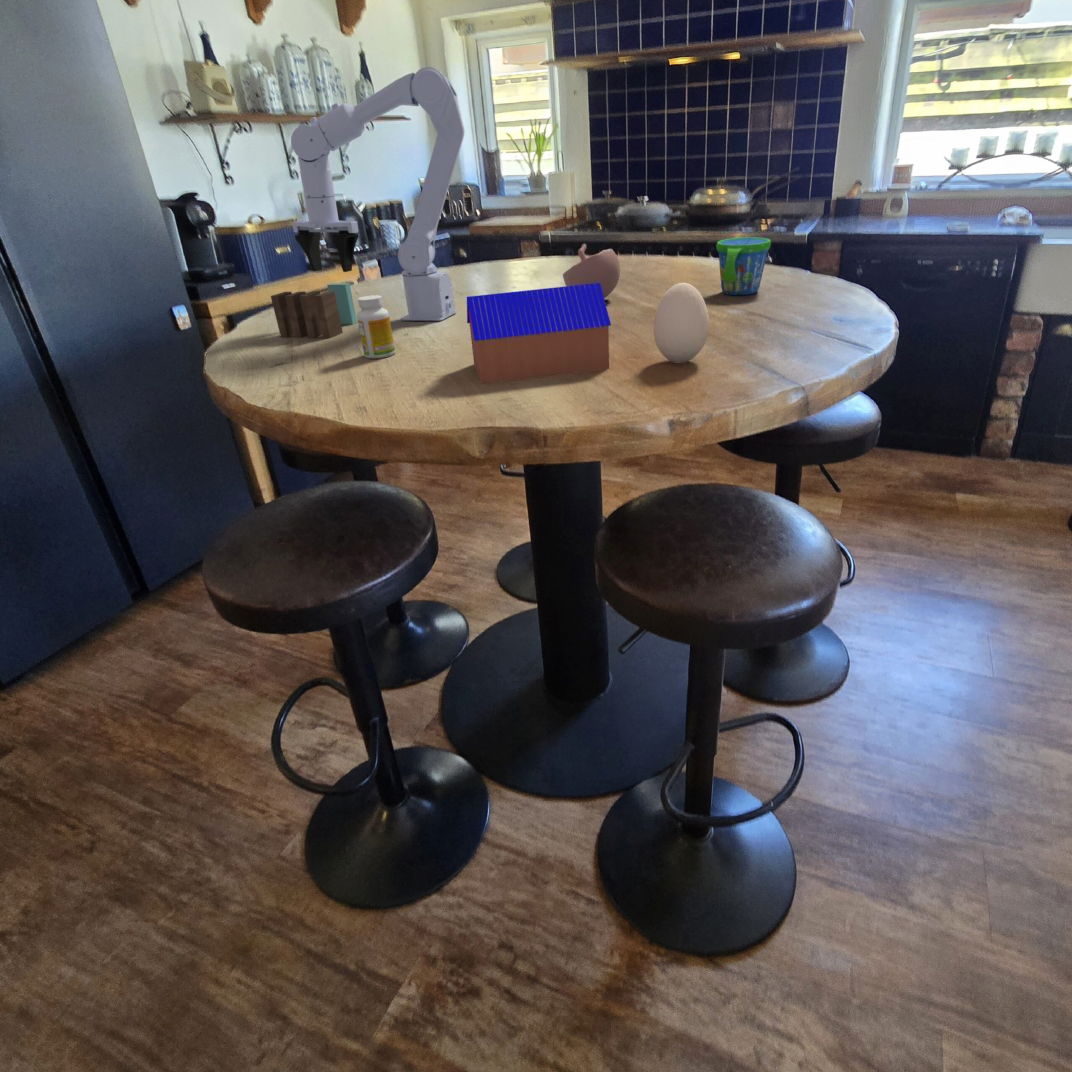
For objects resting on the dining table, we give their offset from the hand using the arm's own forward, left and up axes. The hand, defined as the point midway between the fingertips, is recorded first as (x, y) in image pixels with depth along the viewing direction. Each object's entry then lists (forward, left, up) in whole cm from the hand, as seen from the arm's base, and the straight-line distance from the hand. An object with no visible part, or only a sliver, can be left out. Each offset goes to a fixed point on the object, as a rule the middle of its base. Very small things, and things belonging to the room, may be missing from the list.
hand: (332, 270), depth 141 cm
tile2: (-4, +10, -11) cm, 15 cm away
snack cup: (-79, -30, -11) cm, 85 cm away
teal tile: (-1, 0, -11) cm, 11 cm away
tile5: (+6, +10, -11) cm, 16 cm away
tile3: (-1, +10, -11) cm, 15 cm away
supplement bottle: (-23, +23, -11) cm, 34 cm away
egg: (-75, +23, -11) cm, 79 cm away
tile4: (+3, +10, -11) cm, 15 cm away
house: (-54, +27, -11) cm, 61 cm away
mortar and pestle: (-49, -22, -11) cm, 55 cm away
